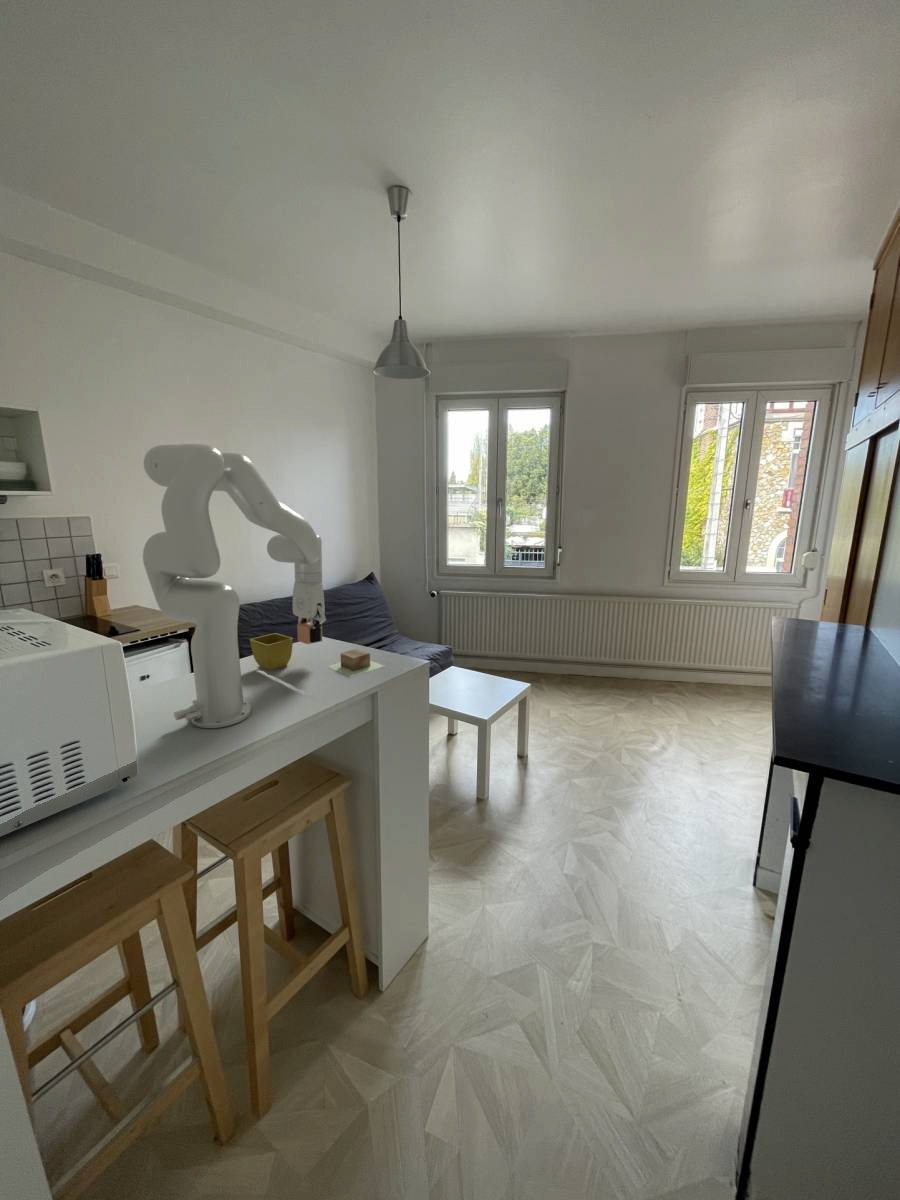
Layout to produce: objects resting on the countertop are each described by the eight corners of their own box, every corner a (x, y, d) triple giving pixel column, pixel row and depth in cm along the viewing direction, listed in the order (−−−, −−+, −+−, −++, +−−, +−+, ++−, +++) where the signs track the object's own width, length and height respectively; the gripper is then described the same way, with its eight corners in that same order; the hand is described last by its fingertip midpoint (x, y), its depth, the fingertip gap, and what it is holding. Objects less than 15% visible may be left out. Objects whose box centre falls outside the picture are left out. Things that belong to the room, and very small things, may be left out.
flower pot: (277, 660, 150) (275, 632, 148) (295, 666, 145) (293, 637, 143) (251, 668, 143) (248, 639, 141) (269, 675, 138) (267, 645, 136)
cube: (307, 644, 140) (306, 627, 139) (297, 640, 143) (297, 624, 142) (322, 641, 143) (322, 624, 142) (312, 637, 147) (312, 621, 146)
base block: (353, 671, 140) (353, 658, 139) (341, 666, 143) (340, 653, 143) (370, 666, 144) (369, 653, 143) (357, 661, 148) (357, 648, 147)
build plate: (351, 679, 136) (351, 677, 135) (326, 669, 143) (326, 666, 143) (384, 668, 144) (384, 665, 144) (359, 658, 152) (359, 656, 152)
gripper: (280, 575, 142) (282, 636, 146) (314, 582, 131) (315, 648, 135) (303, 573, 148) (305, 632, 151) (337, 580, 137) (338, 643, 140)
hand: (310, 639), depth 143 cm, fingers closed on cube, 5 cm apart
